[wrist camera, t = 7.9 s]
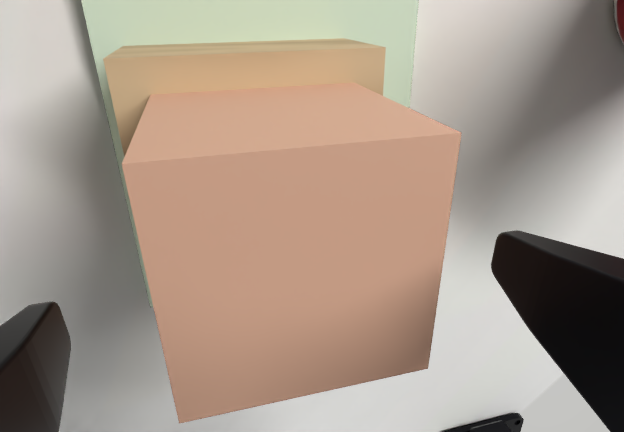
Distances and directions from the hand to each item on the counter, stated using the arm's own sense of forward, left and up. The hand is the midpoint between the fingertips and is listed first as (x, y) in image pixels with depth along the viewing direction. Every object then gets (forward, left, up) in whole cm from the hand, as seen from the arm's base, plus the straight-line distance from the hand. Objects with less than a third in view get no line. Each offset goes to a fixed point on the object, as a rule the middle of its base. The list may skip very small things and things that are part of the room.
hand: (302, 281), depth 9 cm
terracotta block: (0, 0, -6) cm, 6 cm away
